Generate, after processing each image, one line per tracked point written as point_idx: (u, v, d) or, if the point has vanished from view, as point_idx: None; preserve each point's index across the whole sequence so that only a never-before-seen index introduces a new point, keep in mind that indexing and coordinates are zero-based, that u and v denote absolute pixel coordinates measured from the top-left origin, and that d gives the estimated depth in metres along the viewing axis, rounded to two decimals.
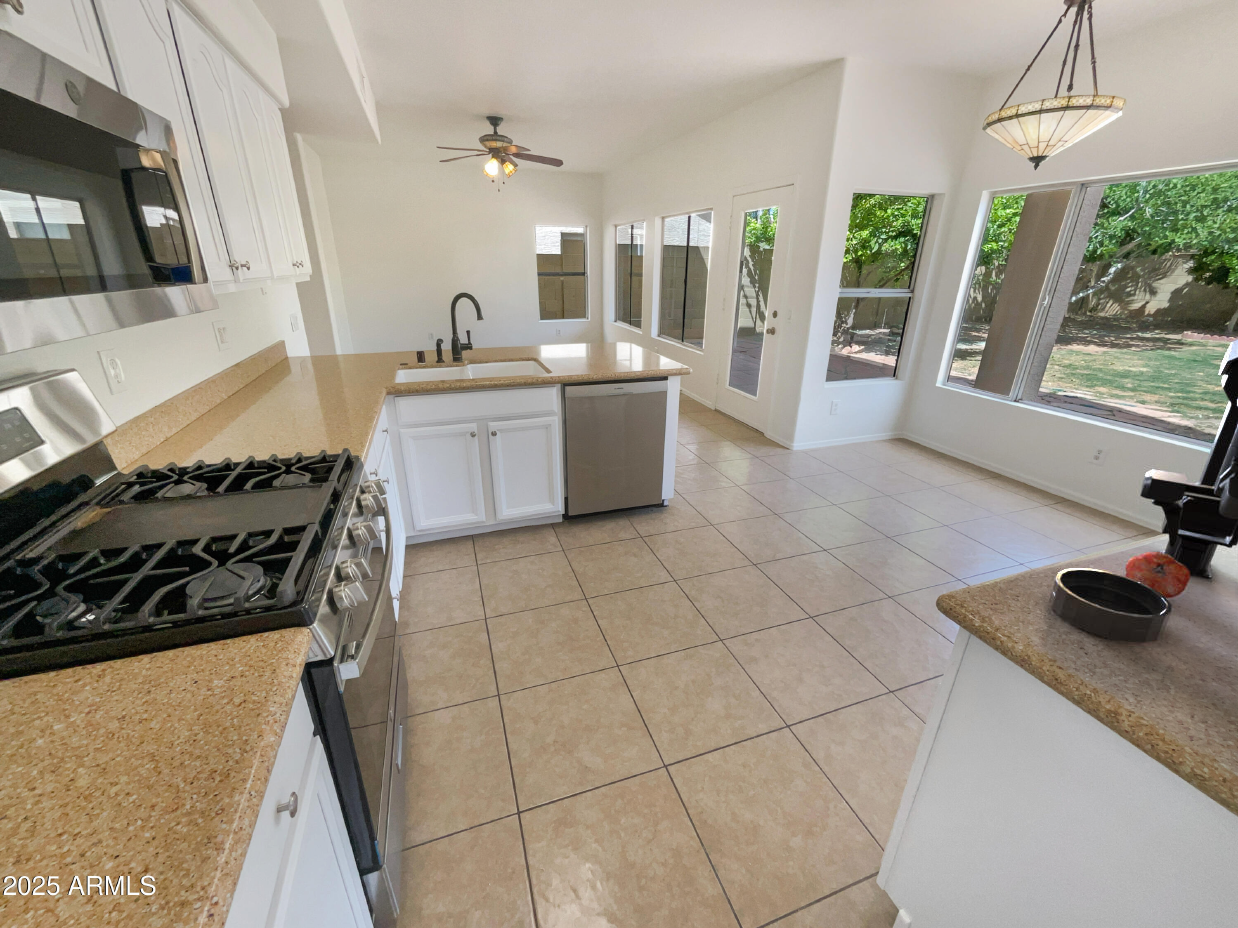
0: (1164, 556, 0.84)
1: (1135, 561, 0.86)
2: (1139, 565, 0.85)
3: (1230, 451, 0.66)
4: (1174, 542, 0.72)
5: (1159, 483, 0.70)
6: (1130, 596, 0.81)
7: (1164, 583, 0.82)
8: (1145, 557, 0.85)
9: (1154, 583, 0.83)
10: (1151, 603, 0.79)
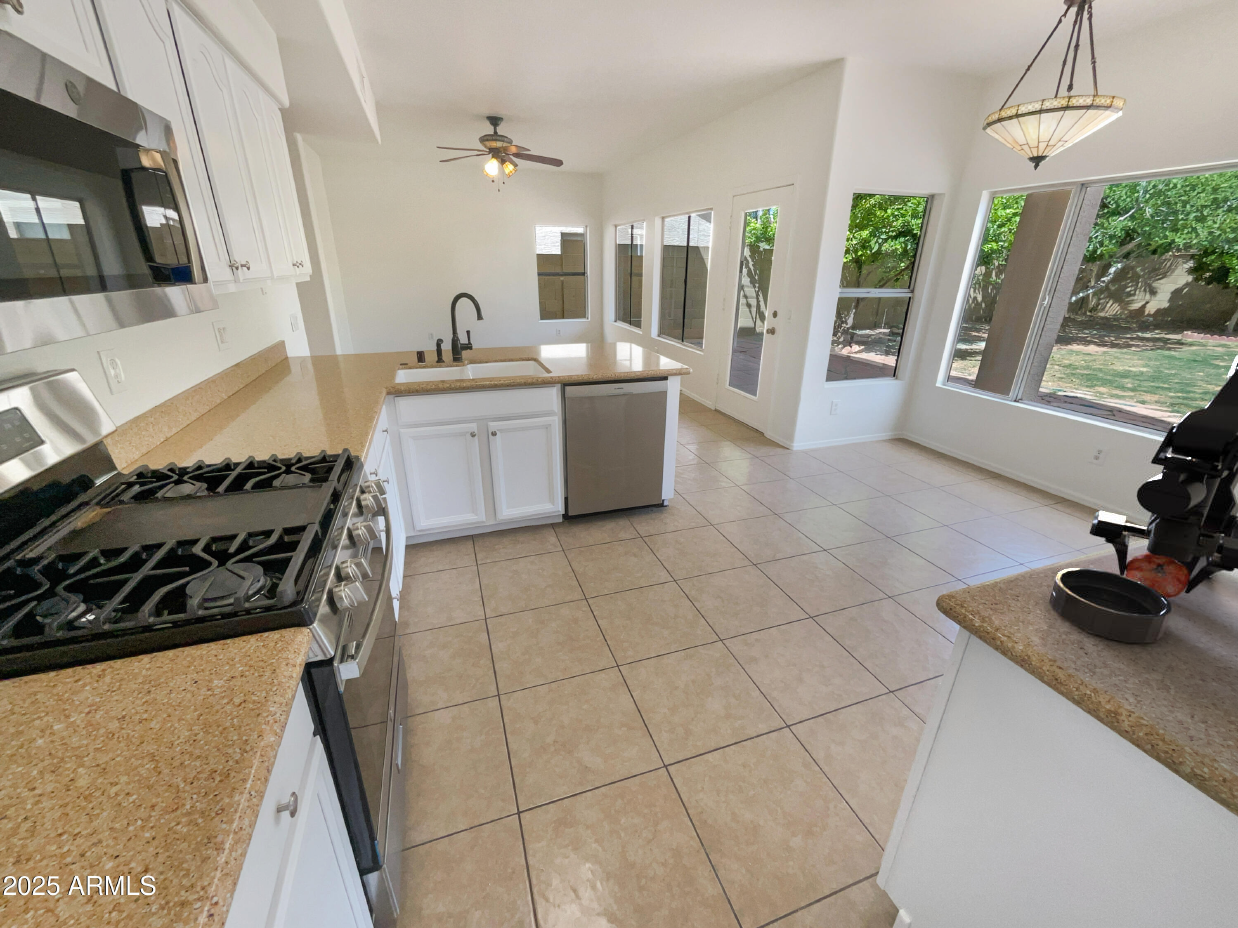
0: (1164, 556, 0.84)
1: (1135, 561, 0.86)
2: (1139, 565, 0.85)
3: None
4: (1123, 572, 0.88)
5: (1103, 524, 0.86)
6: (1130, 596, 0.81)
7: (1164, 583, 0.82)
8: (1145, 557, 0.85)
9: (1154, 583, 0.83)
10: (1151, 603, 0.79)
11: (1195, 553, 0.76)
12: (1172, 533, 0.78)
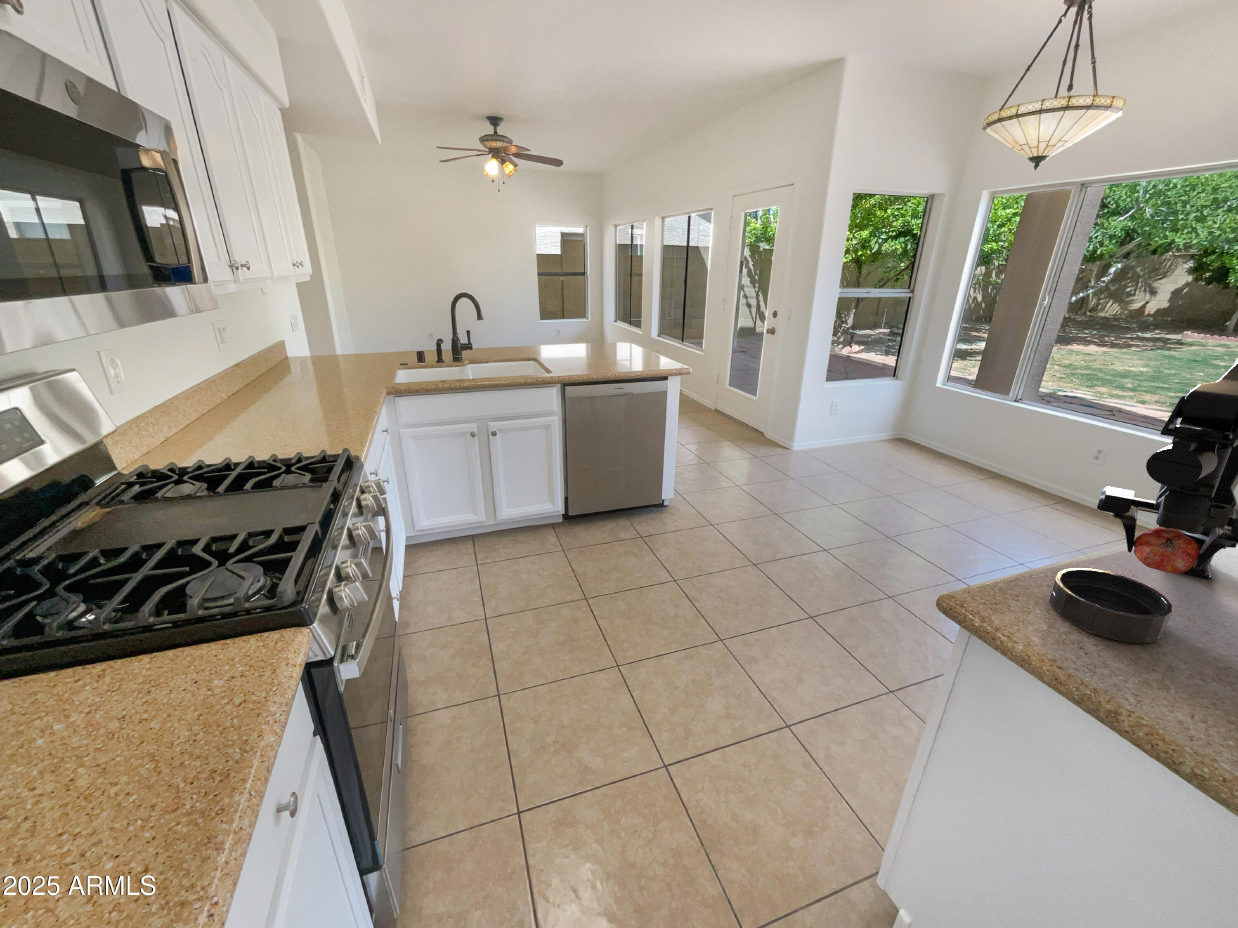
0: (1173, 531, 0.82)
1: (1143, 536, 0.84)
2: (1148, 540, 0.83)
3: None
4: (1131, 548, 0.86)
5: (1111, 498, 0.85)
6: (1130, 596, 0.81)
7: (1173, 558, 0.80)
8: (1153, 532, 0.83)
9: (1163, 558, 0.81)
10: (1151, 603, 0.79)
11: (1206, 525, 0.74)
12: (1182, 505, 0.76)
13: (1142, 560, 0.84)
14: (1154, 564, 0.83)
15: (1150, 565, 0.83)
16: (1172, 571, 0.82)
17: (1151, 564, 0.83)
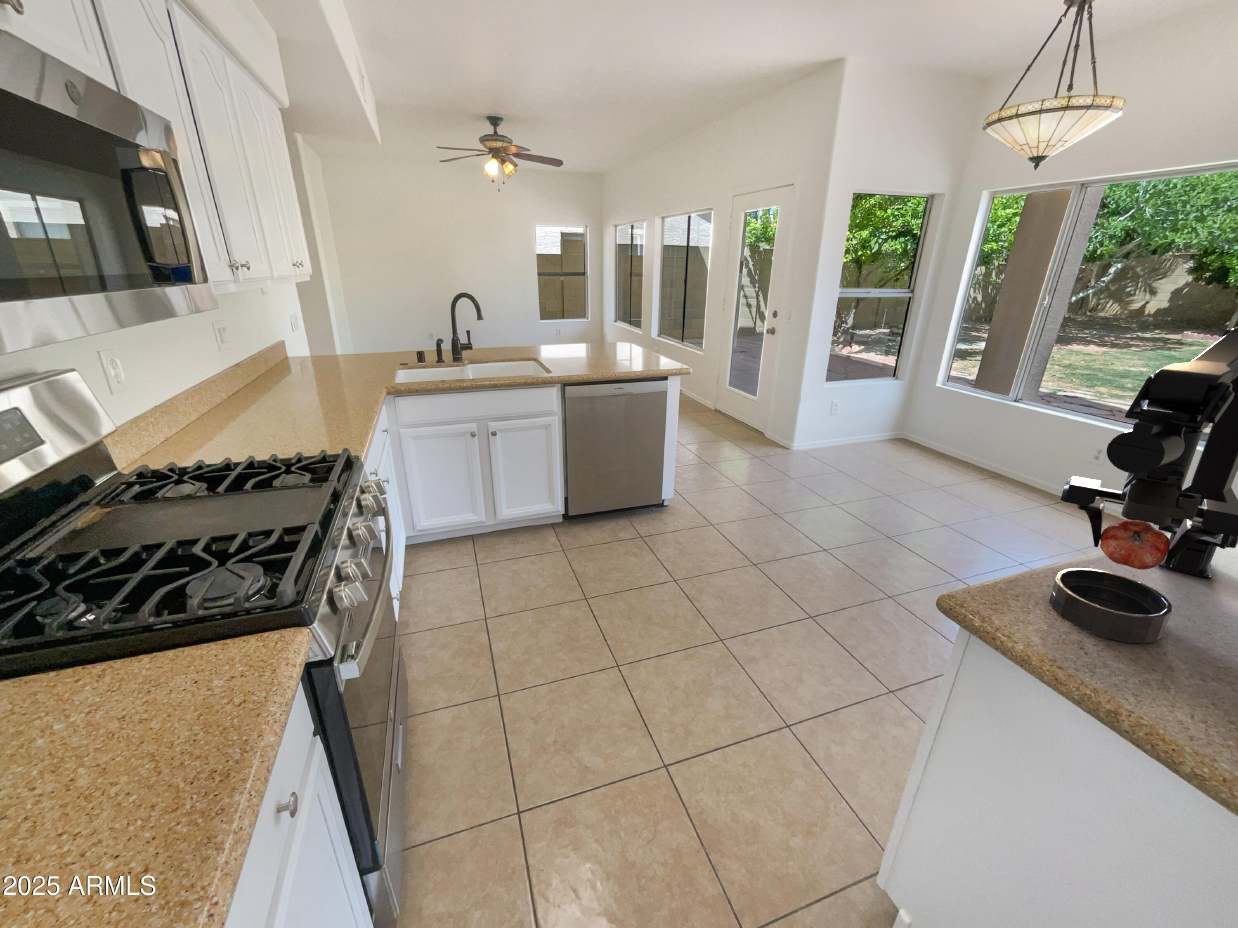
0: (1141, 523, 0.76)
1: (1110, 529, 0.78)
2: (1114, 533, 0.77)
3: None
4: (1097, 543, 0.80)
5: (1075, 488, 0.78)
6: (1130, 596, 0.81)
7: (1141, 553, 0.74)
8: (1121, 525, 0.77)
9: (1130, 553, 0.75)
10: (1151, 603, 0.79)
11: (1174, 516, 0.67)
12: (1149, 495, 0.70)
13: (1109, 555, 0.78)
14: (1121, 559, 0.76)
15: (1117, 560, 0.77)
16: (1140, 567, 0.75)
17: (1118, 559, 0.77)
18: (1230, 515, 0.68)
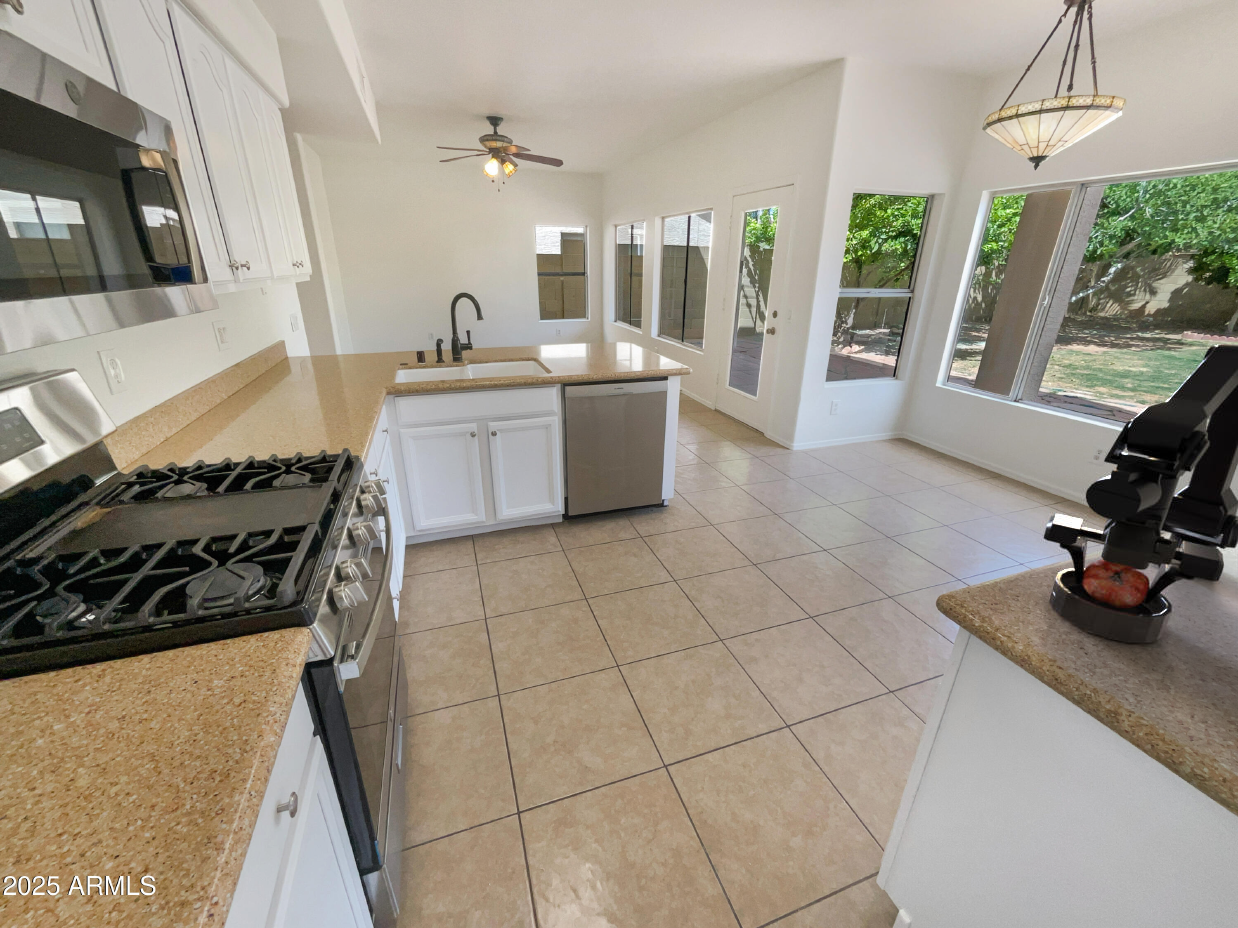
0: None
1: (1092, 568, 0.79)
2: (1096, 572, 0.78)
3: None
4: (1080, 580, 0.81)
5: (1058, 528, 0.80)
6: None
7: (1121, 593, 0.75)
8: (1102, 564, 0.78)
9: (1111, 592, 0.76)
10: (1151, 603, 0.79)
11: (1151, 561, 0.69)
12: (1127, 538, 0.71)
13: (1090, 593, 0.79)
14: (1102, 598, 0.78)
15: (1098, 599, 0.78)
16: (1121, 606, 0.77)
17: (1099, 598, 0.78)
18: (1207, 560, 0.69)
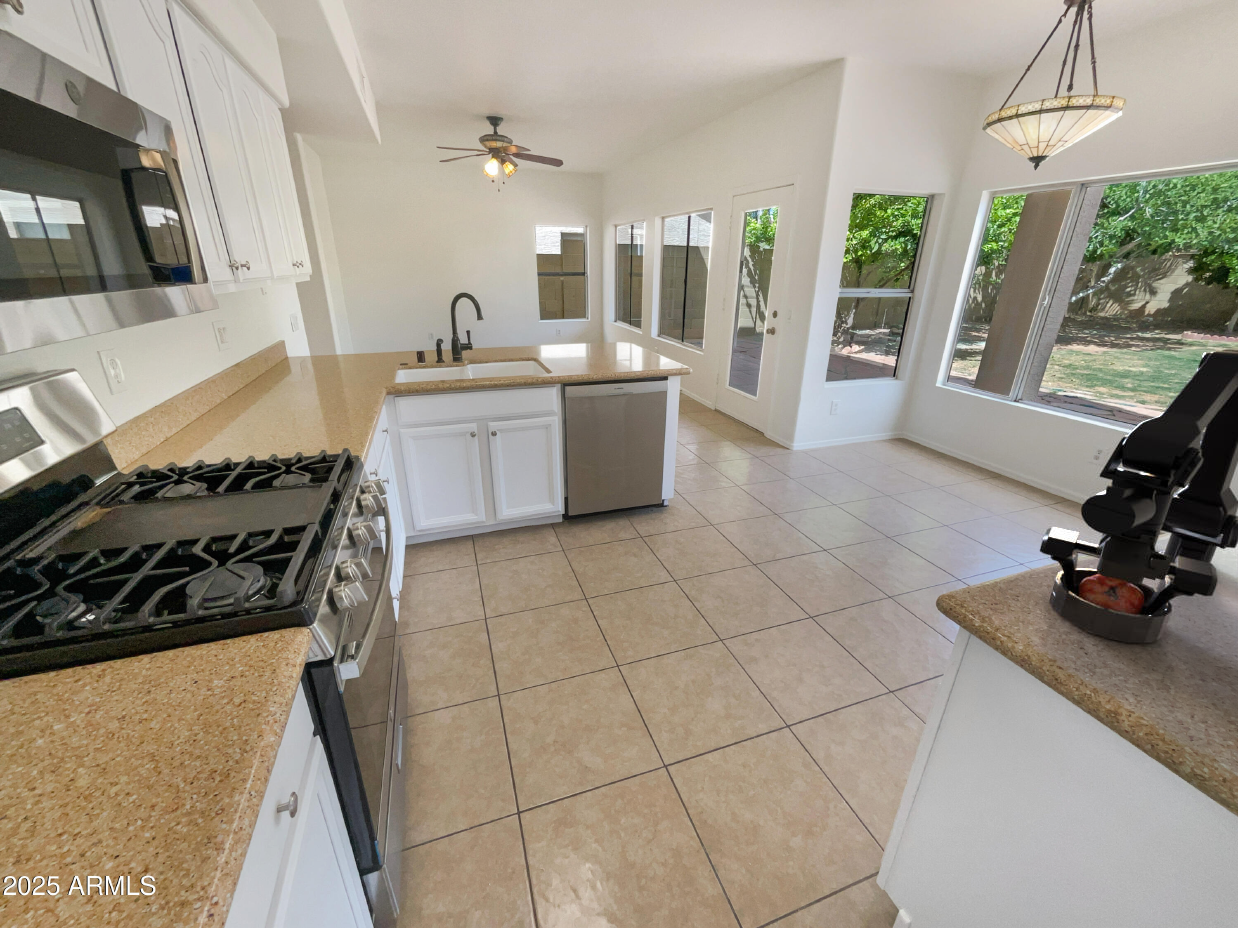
0: None
1: (1087, 583, 0.80)
2: (1091, 587, 0.79)
3: None
4: (1071, 591, 0.82)
5: (1054, 541, 0.80)
6: None
7: (1116, 608, 0.76)
8: (1097, 579, 0.79)
9: (1106, 607, 0.77)
10: None
11: (1145, 575, 0.70)
12: (1122, 553, 0.72)
13: None
14: None
15: None
16: None
17: None
18: (1200, 575, 0.70)
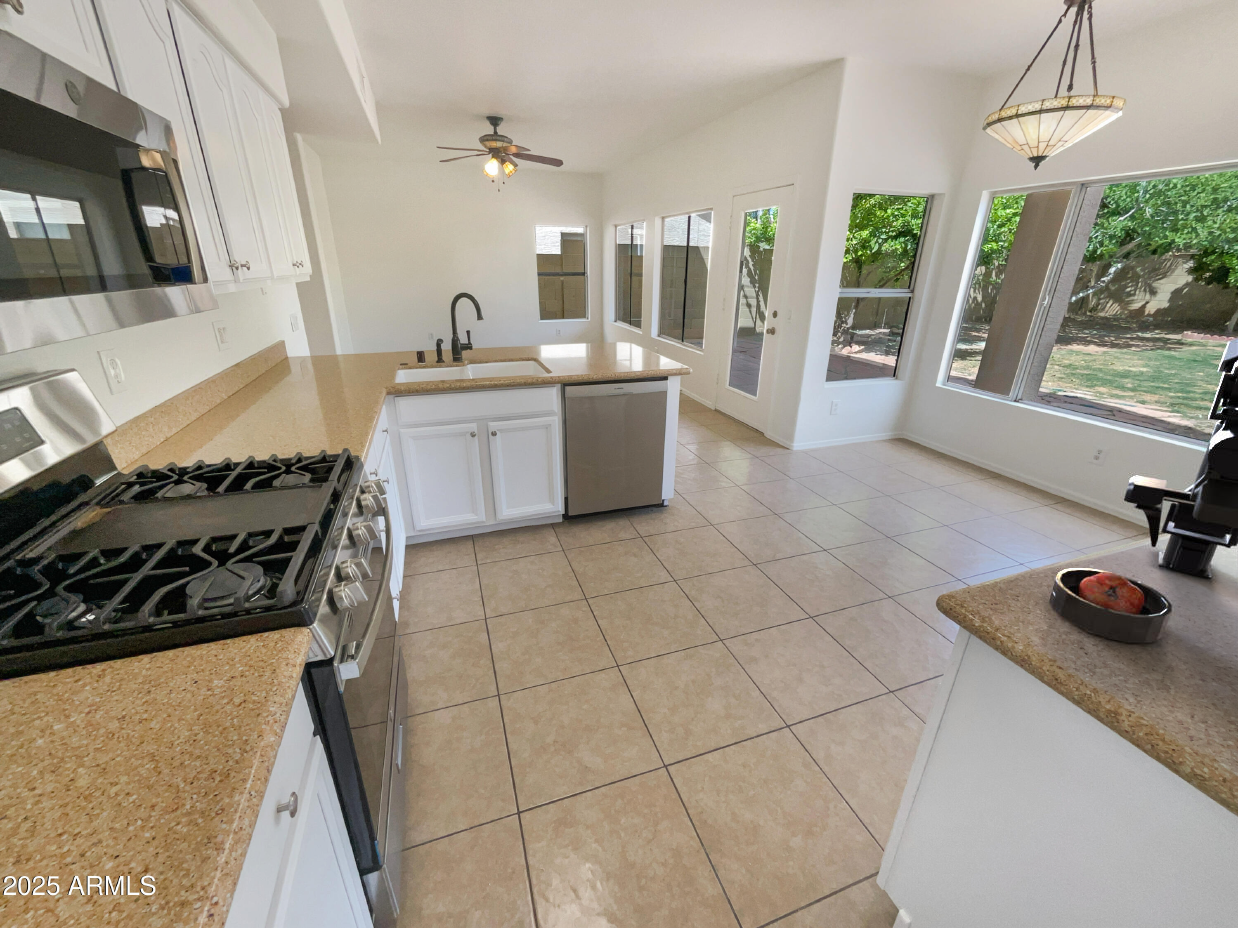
0: (1117, 578, 0.78)
1: (1087, 583, 0.80)
2: (1091, 587, 0.79)
3: (1205, 460, 0.72)
4: (1155, 542, 0.78)
5: (1140, 488, 0.76)
6: None
7: (1116, 608, 0.76)
8: (1097, 579, 0.79)
9: (1106, 607, 0.77)
10: (1151, 603, 0.79)
11: None
12: (1223, 495, 0.68)
13: None
14: None
15: None
16: None
17: None
18: None
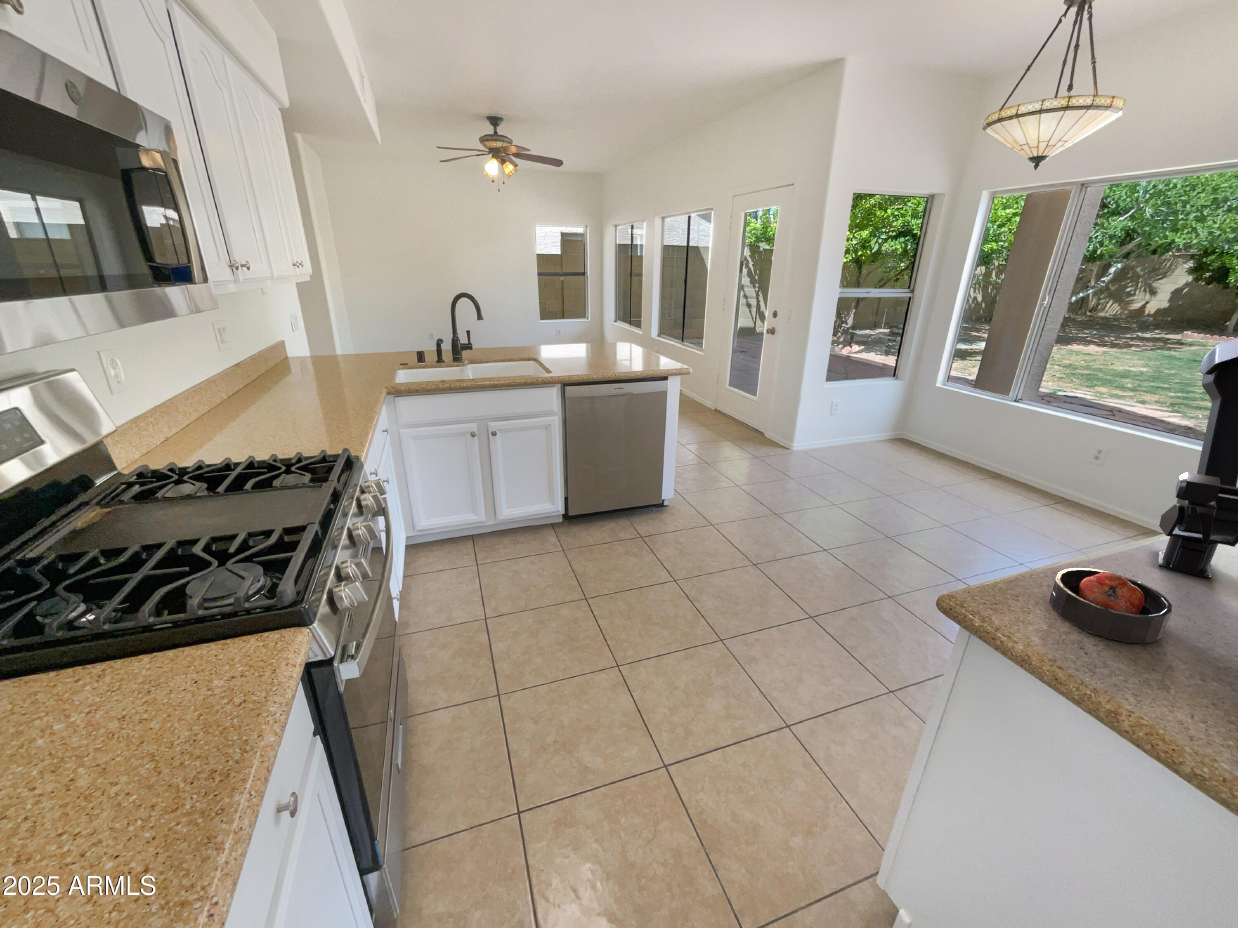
0: (1117, 578, 0.78)
1: (1087, 583, 0.80)
2: (1091, 587, 0.79)
3: None
4: (1207, 541, 0.77)
5: (1194, 485, 0.75)
6: None
7: (1116, 608, 0.76)
8: (1097, 579, 0.79)
9: (1106, 607, 0.77)
10: (1151, 603, 0.79)
11: None
12: None
13: None
14: None
15: None
16: None
17: None
18: None
